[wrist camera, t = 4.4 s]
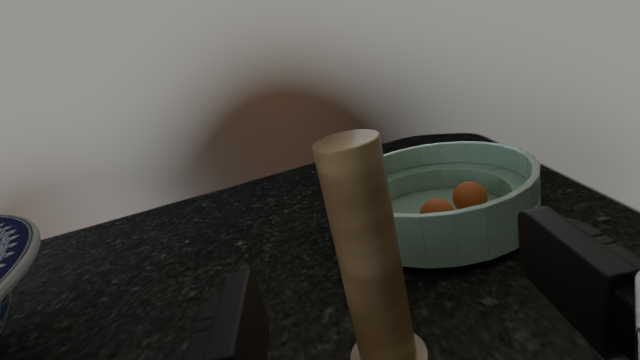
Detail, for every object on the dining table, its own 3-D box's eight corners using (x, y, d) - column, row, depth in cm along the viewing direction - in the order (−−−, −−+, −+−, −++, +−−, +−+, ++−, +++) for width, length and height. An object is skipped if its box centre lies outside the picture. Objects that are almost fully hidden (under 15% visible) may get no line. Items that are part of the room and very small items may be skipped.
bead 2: (495, 210, 37) (493, 179, 36) (474, 223, 36) (471, 192, 35) (468, 202, 40) (465, 174, 39) (447, 215, 39) (443, 185, 38)
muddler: (447, 370, 23) (413, 128, 18) (388, 418, 21) (333, 161, 16) (393, 332, 27) (354, 122, 22) (339, 370, 25) (283, 148, 20)
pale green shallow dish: (584, 208, 36) (584, 153, 34) (448, 305, 28) (439, 241, 26) (433, 174, 50) (428, 134, 48) (315, 232, 42) (304, 188, 41)
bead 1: (465, 229, 36) (461, 197, 35) (440, 244, 34) (436, 211, 33) (438, 220, 38) (434, 190, 37) (414, 233, 37) (410, 202, 36)
